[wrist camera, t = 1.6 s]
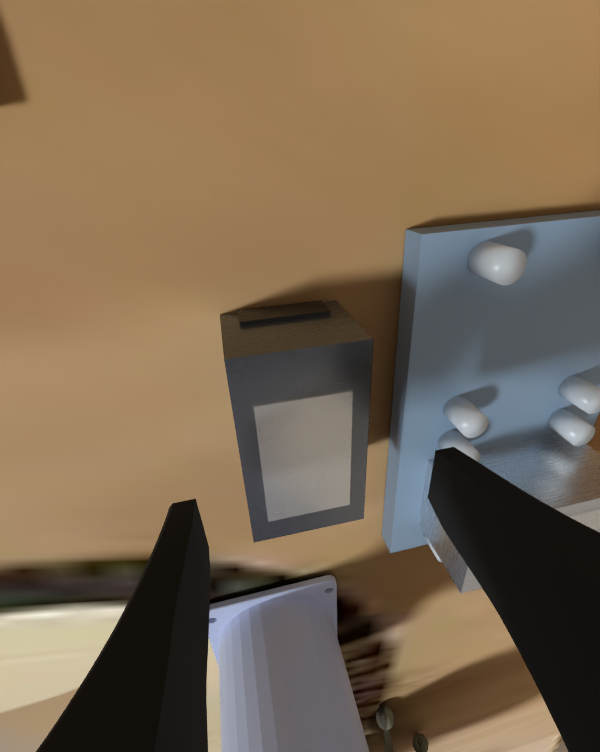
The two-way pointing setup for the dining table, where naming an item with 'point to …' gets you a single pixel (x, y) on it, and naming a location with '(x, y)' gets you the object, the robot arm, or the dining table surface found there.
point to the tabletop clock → (386, 723)
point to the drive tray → (491, 347)
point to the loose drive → (299, 413)
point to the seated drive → (527, 490)
